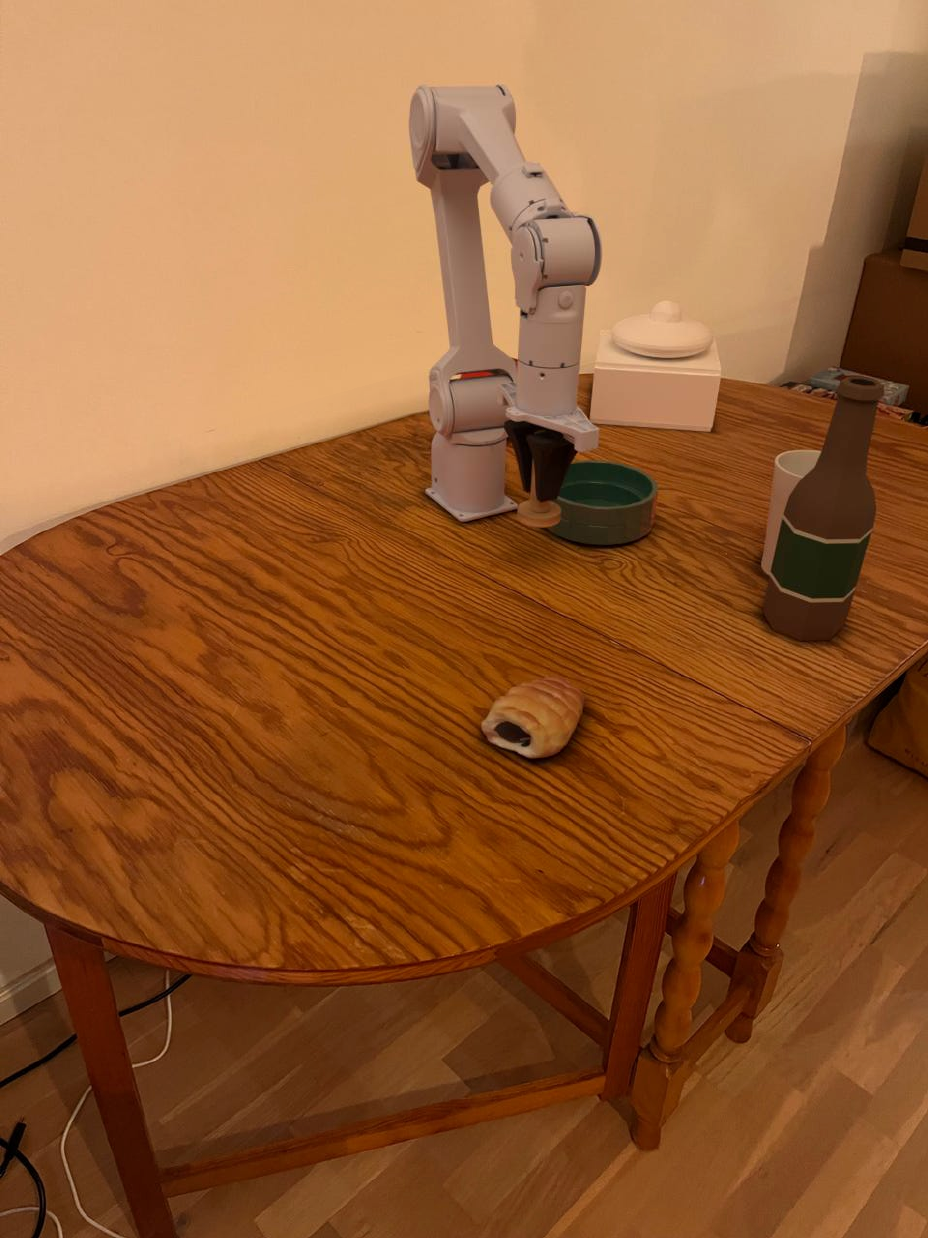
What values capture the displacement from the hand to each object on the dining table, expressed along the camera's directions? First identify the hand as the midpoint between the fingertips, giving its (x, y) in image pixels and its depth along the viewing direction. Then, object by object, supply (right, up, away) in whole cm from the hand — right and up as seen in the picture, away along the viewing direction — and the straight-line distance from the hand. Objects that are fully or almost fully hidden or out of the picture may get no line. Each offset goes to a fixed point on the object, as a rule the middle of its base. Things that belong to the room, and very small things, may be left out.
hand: (540, 494), depth 91 cm
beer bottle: (+25, -13, -2) cm, 29 cm away
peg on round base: (0, -2, +1) cm, 3 cm away
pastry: (-2, -22, -16) cm, 27 cm away
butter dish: (+21, +20, +49) cm, 57 cm away
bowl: (+8, -1, +16) cm, 17 cm away
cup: (+28, -7, +7) cm, 29 cm away
